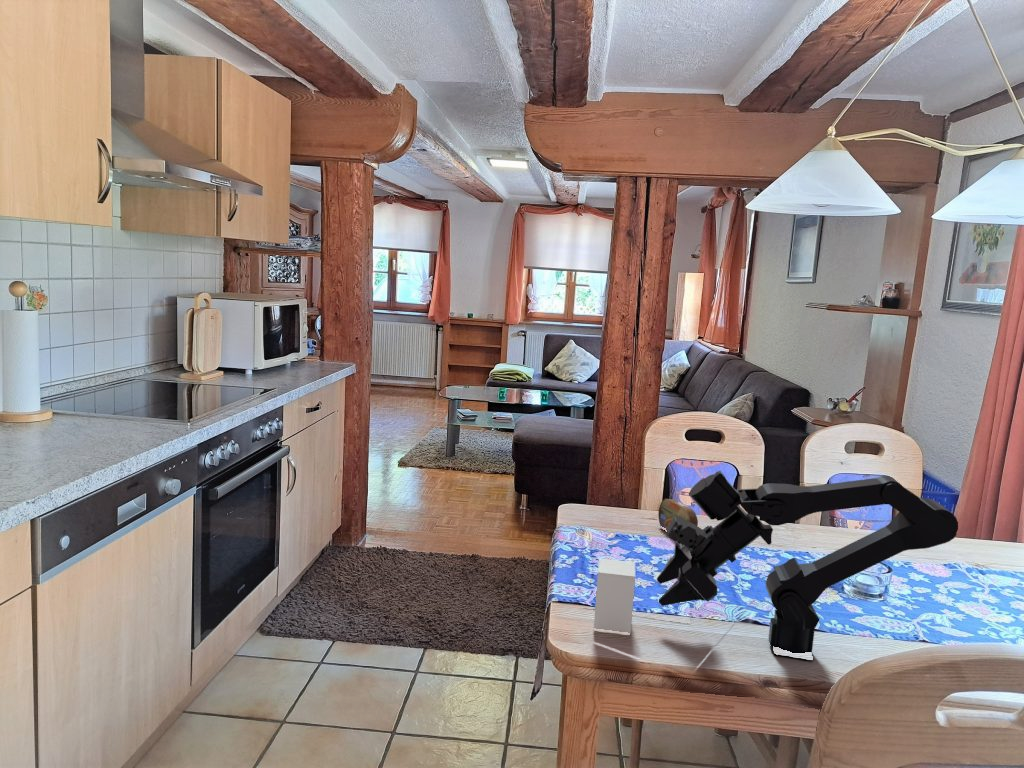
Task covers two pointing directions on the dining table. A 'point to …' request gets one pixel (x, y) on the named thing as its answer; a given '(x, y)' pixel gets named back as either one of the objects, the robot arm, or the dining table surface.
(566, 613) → the dining table surface
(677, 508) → the tin
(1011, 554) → the dining table surface
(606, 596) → the tall white rectangular prism
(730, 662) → the dining table surface
